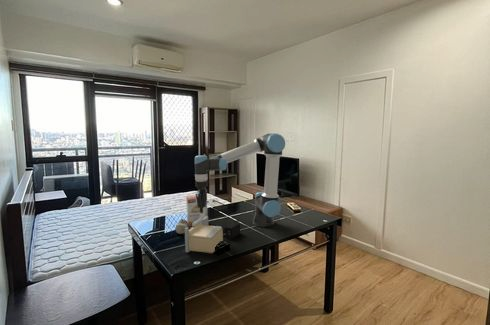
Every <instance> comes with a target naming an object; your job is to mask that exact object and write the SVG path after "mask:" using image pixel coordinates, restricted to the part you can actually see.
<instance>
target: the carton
mask: <svg viewBox="0 0 490 325" xmlns="http://www.w3.org/2000/svg"><path fill="white" fill-rule="evenodd" d="M201 222H202V225H207V226H209V216H208V215H207V216H206V217H205V218H203V220H202V221H201ZM189 230H190V228H185V233H184V244H185V248H184V249H185V250H184V251H185V253H189V252H190V251H191V252H198V253H200V252H201V253H205V254H207V253H208V254H214V253H215V252H216V250H215V247H216V245H217V244H218V243H219V242H220V241H223V242H224V237H223V236H224V235H223V234H224V232H223V228H221V229H220V230H219V231H218V232H217V233H216V234H215V235H214V236H213V237H212V239H209V238H200V237H190V236H189Z"/></svg>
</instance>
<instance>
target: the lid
mask: <svg viewBox="0 0 490 325" xmlns="http://www.w3.org/2000/svg"><path fill="white" fill-rule="evenodd" d="M220 229H223V227H222V226H219V225H216V226H215V225H208V226H207V225H202V222H200V223H198V224H197V225H196V226H191V227H190V228H189V236H190V237H200V238H209V239H211V238H212V237H213V236H214V235H215V234H216V233H217V232H218V231H219V230H220Z"/></svg>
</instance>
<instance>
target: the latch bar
mask: <svg viewBox="0 0 490 325" xmlns="http://www.w3.org/2000/svg"><path fill="white" fill-rule="evenodd" d="M202 220H203V217H200V218H199V219H197V220H196V221H195V222H193V223H192V226H191V227H194V226H196V225H197V224H198V223H200V222H201V221H202Z"/></svg>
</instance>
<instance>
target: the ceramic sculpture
mask: <svg viewBox="0 0 490 325" xmlns="http://www.w3.org/2000/svg"><path fill="white" fill-rule="evenodd" d="M192 227H193V226H192V224H188V222H187V219H183V218H182V219H180V220H179V221H178V222H177V224H175V232H176V233H177V234H179V235H184V234H185V228H189V229H191V228H192Z"/></svg>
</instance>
